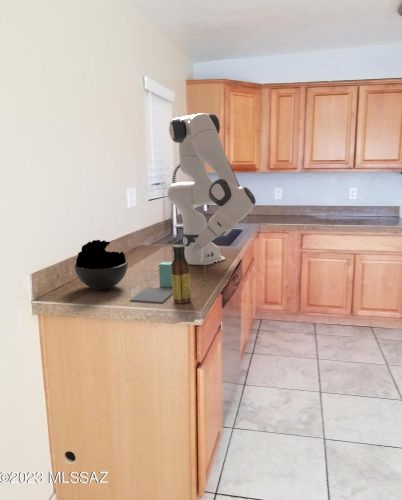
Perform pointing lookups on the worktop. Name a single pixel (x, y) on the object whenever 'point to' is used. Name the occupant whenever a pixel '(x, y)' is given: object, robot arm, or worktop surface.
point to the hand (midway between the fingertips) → (195, 249)
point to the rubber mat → (153, 295)
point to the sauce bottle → (180, 276)
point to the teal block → (165, 274)
